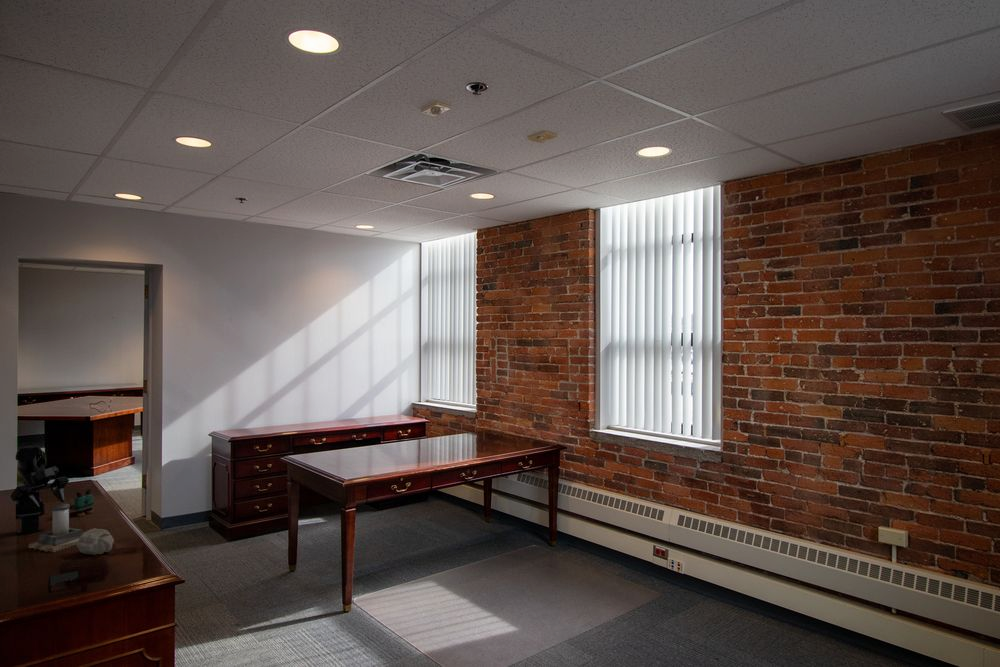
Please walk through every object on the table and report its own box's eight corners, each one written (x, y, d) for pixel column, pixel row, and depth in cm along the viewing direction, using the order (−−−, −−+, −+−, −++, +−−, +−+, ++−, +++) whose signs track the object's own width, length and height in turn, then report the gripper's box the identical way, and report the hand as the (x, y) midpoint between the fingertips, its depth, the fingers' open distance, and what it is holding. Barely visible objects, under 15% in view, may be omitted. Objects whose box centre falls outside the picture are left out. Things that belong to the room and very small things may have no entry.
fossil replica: (107, 557, 212) (118, 550, 222) (110, 533, 213) (121, 527, 222) (68, 557, 209) (82, 550, 219) (72, 532, 210) (85, 526, 220)
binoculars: (78, 489, 271) (96, 488, 269) (80, 512, 271) (98, 511, 269) (60, 494, 262) (79, 492, 260) (61, 518, 262) (80, 517, 260)
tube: (48, 541, 224) (48, 506, 224) (63, 537, 229) (63, 503, 229) (57, 543, 222) (58, 508, 222) (72, 538, 227) (72, 504, 227)
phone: (49, 591, 181) (50, 576, 193) (49, 594, 181) (50, 578, 193) (79, 585, 185) (78, 570, 197) (79, 588, 185) (78, 573, 197)
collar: (28, 548, 221) (28, 535, 221) (67, 536, 234) (67, 525, 235) (53, 552, 216) (53, 540, 216) (91, 540, 230) (91, 528, 230)
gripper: (15, 465, 224) (36, 497, 220) (66, 456, 241) (85, 485, 238) (1, 485, 226) (21, 516, 222) (52, 474, 244) (71, 503, 240)
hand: (51, 504), depth 231 cm, fingers open, 9 cm apart
